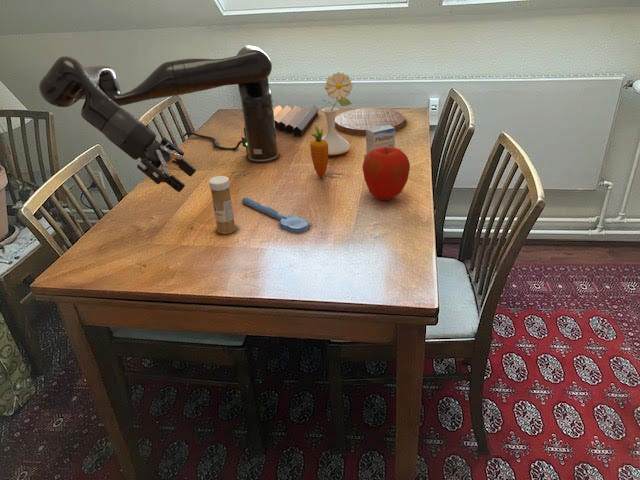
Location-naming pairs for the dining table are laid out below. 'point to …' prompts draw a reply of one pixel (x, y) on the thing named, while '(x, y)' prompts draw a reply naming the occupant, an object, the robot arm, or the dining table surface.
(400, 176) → the apple
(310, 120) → the pan flute
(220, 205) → the sprinkles bottle
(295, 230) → the spoon
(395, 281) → the dining table surface
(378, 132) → the medicine box
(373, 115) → the trivet
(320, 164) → the carrot
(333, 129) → the flower in vase
